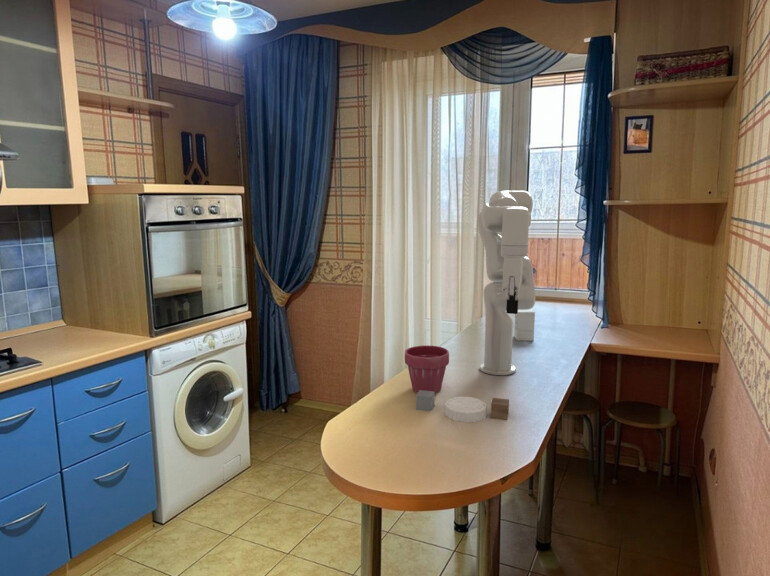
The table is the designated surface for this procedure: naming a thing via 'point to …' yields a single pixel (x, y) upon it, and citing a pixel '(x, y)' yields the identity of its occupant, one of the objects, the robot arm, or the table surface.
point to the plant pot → (426, 367)
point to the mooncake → (465, 409)
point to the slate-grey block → (425, 400)
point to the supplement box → (524, 325)
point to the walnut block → (500, 408)
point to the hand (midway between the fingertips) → (512, 312)
